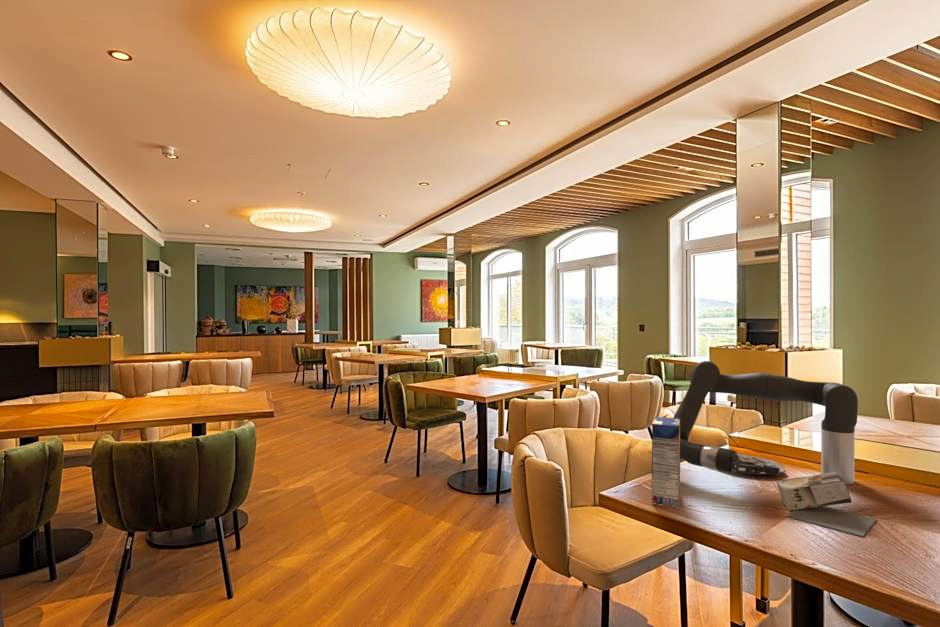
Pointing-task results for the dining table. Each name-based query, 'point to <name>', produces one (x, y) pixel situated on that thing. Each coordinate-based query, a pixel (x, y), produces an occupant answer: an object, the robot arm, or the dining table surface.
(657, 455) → the juice carton
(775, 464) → the food plate
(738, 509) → the dining table surface
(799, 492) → the coffee box
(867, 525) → the rubber mat
